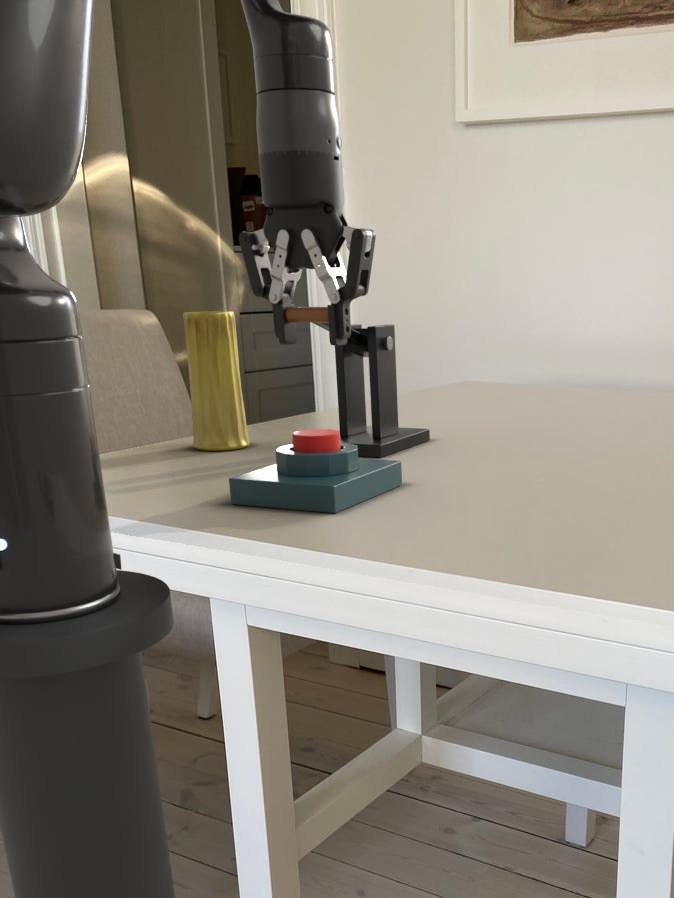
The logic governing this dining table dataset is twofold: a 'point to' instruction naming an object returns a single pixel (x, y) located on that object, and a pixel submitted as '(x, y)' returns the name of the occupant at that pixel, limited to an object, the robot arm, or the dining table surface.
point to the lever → (321, 319)
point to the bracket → (372, 397)
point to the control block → (316, 480)
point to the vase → (215, 381)
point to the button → (316, 440)
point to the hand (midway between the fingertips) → (313, 343)
